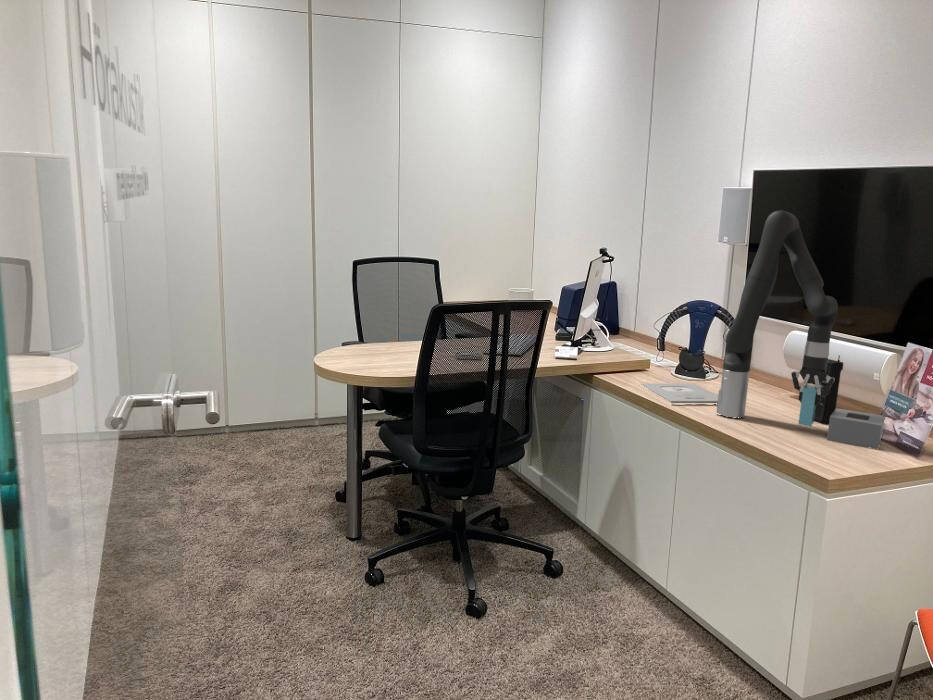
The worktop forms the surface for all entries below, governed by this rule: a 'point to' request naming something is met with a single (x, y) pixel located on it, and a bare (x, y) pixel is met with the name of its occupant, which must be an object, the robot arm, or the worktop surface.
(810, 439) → the worktop surface
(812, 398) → the teal rectangular block
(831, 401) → the portable radio
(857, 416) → the block
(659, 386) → the award plaque
